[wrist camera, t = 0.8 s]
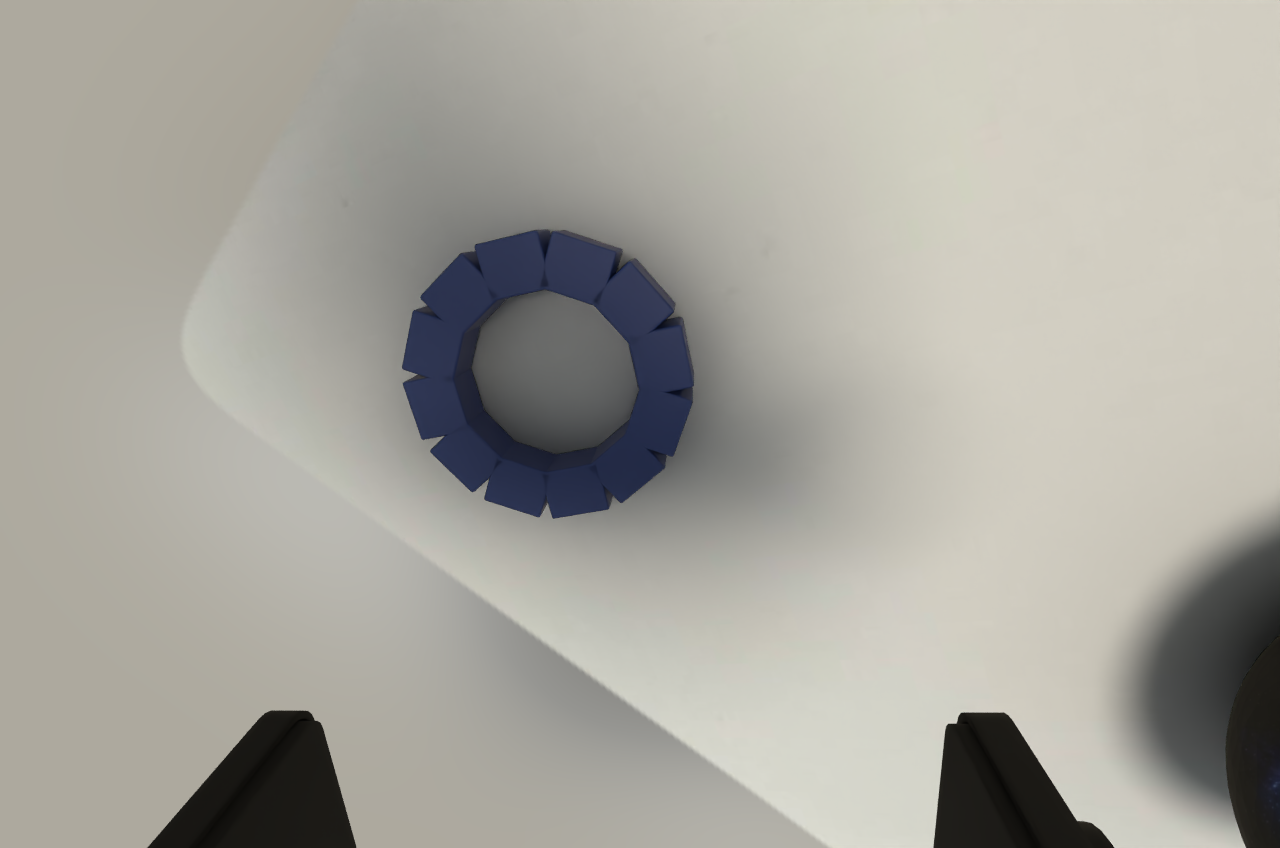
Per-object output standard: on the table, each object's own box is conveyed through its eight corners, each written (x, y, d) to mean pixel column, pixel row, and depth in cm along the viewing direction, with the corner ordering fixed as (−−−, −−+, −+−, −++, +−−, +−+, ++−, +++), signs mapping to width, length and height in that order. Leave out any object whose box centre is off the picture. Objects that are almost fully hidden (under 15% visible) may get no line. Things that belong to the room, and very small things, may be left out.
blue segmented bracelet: (404, 450, 24) (381, 467, 22) (455, 193, 21) (434, 191, 19) (643, 527, 24) (640, 550, 22) (729, 284, 21) (733, 290, 19)
